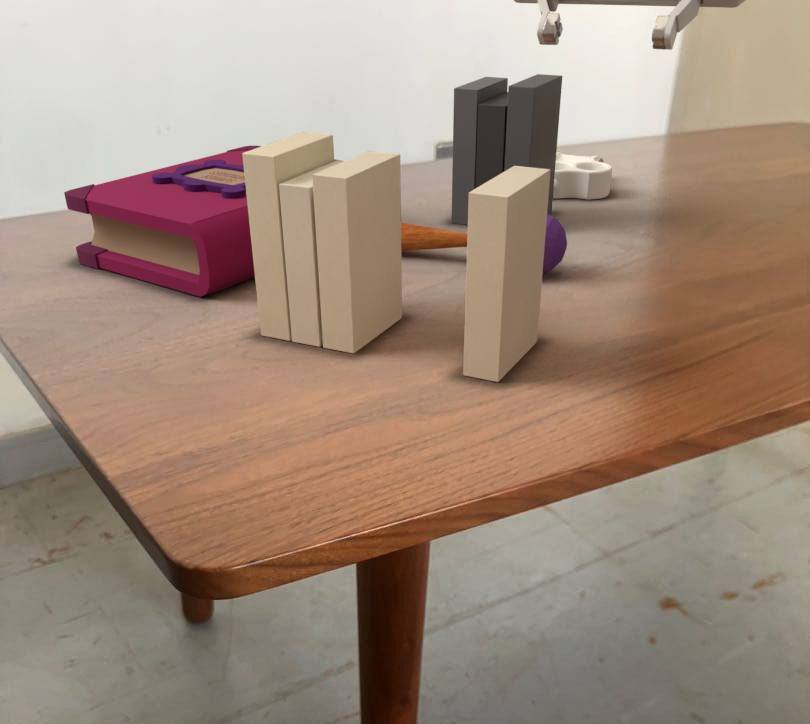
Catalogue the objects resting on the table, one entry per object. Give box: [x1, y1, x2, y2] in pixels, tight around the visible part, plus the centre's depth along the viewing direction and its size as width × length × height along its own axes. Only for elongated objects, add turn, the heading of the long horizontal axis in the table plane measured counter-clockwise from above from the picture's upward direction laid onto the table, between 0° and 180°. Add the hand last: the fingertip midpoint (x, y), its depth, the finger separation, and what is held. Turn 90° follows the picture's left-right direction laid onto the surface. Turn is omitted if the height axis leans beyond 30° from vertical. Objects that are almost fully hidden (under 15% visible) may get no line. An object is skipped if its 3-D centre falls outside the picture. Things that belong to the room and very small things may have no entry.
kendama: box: [401, 214, 568, 275], centre depth 94 cm, size 6×6×20 cm
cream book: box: [462, 166, 551, 383], centre depth 72 cm, size 3×9×14 cm, turn 153°
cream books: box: [242, 131, 403, 354], centre depth 77 cm, size 9×9×15 cm
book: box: [63, 145, 342, 298], centre depth 99 cm, size 21×28×8 cm
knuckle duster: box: [553, 151, 613, 201], centre depth 121 cm, size 3×18×15 cm
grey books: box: [451, 73, 563, 226], centre depth 105 cm, size 9×9×15 cm
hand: (602, 42), depth 74 cm, fingers open, 8 cm apart
